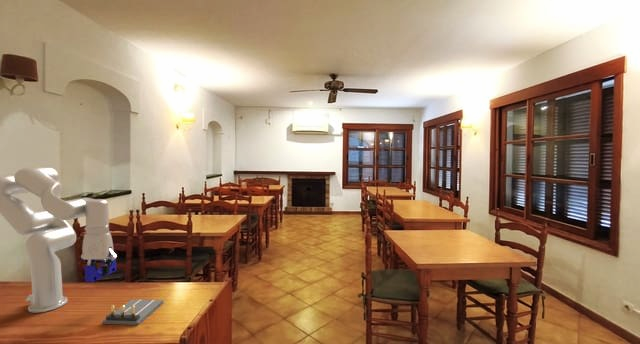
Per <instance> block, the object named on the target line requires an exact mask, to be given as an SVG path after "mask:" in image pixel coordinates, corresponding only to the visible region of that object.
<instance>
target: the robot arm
mask: <svg viewBox="0 0 640 344" xmlns="http://www.w3.org/2000/svg"><path fill="white" fill-rule="evenodd" d="M59 176H60V175H59V174H58V172H57V170H56V169H54V168H52V167H50V166H35V167H34V166H33V167H32V166H31V167H24V168H21V169H19V170H17V171H16V172H15V173H13V174H1V175H0V215H1V216H2V217H3V218H4V220H5V221H6V223H8V225H10V226H11V227H12V228H13V230H14V231H15V232H16V233H17V234H19V235H20V236H29V237H28V238H27V239H26V242H25V249H26V250H25V251H26V253H27V257H28V258H29V265H30V266H29V267H30V276H31V278H30V279H31V293H32V294H29V295H28V296H27V297H26V299H25V302H30V305H29V306H28V308H27V310H28V312H30V313H33V314H34V313H35V314H37V313H44V312H50V311H53V310H55V309H58V308H60V307H62V306H64V305H66V304H67V303H68V297H67V296H64V295H63V279H62V278H63V277H62V264H61V259H60V257H59V256H57V254H56V252H57V251H60V250H65V249H66V248H70V247H71V246H73V245H74V244H75V243H76V242H77V233H76V231H75V229H74V228H73V227H72V225H70V223H68V221H70V220H75V219H79V218H85V227H84V229H83V230H84V231H85V232H86V233H85V234H84V235H83V240H82V253H81V255H80V258H81V259H82V260H84V262H85V263H86V266H88V265H89V266H95V269H96V271H97V270H98V269H97V268H98V265H97V263H96V262H97V261H101V262H102V265H103V266H102V276H105V275H107V274H109V272H110V267H109V264H111V262H112V261H113V260H114V259H116V260H117V257H118V256H117V254H116V253H115V252H114V243H113V238H112V237H113V236H112V234H111V232H110V220H109V219H110V215H109V201H108V200H107V199H103V198H97V199H96V198H91V197H82V198H75V199H69V200H64V199H61V198H60V197H59V196H60V195H61V193H62V192H63V184H62V183H61V182H59ZM26 193H27V194H28V193H31V194H33V195H35V196H36V197H38V198H39V199H40V204H41V206H42V208H43V209H37V210H35V209H34V210H33V209H32V208H31V207H30V206H29V205H28V204H27V203H26V202H24V200H21V199H20V198H17V197H15V196H13V195H19V194H26ZM110 257H111V258H110ZM106 260H107V262H106ZM109 275H110V274H109ZM107 276H108V275H107ZM105 277H106V276H105Z"/></svg>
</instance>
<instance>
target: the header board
mask: <svg viewBox="0 0 640 344" xmlns="http://www.w3.org/2000/svg"><path fill="white" fill-rule="evenodd" d="M163 304H164V300H161V299H159V300H157V299H130V300H129V301H128V302H126V303H125V304H123V305H124V309H125V315H131V306H133V305H134V306H135V315H140V319H138V320H137V321H121V320H106V317H105V318H104V319H103V320H102V324H103V325H104V324H105V325H106V324H107V325H128V326H129V325H133V326H140V324H141V323H142V322H144V321H145V320H146V319H147V318H148V317H149V316H151V314H153V313H154V312H155V311H156V310H157V309H159V307H161V306H162V305H163ZM114 311H115V314H119V315H121V307H119V308H117V309H116V310H114Z"/></svg>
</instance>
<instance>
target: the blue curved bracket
mask: <svg viewBox="0 0 640 344" xmlns="http://www.w3.org/2000/svg"><path fill="white" fill-rule="evenodd" d="M110 258H111V256H110ZM106 262H107V260H106ZM102 266H103V264H101V265H100V267H99V268H98V269H97V271H96V269H95V266H89V265H86V266H84V279H85V281H84V282H85V283H94V282H96V281H99V280H100V279H102V278H105V277H106V276H109V275H110V274H113V273H115V272H116V271H117V258H116V259H114V260H113V261H112V262H111V264H109V267H110V272H109V274H107V275H105V276H102Z"/></svg>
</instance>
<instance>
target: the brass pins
mask: <svg viewBox="0 0 640 344" xmlns="http://www.w3.org/2000/svg"><path fill="white" fill-rule="evenodd" d="M124 305H125V304H122V305H120V308H121V315H119V314H115V311H116V310H115V304H110V305H109V306H110V314H108V315H107V316H105V318H106V320H121V321H137V320H138V319H140V315H135V306H134V305H133V306H131V315H125V309H124Z"/></svg>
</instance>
